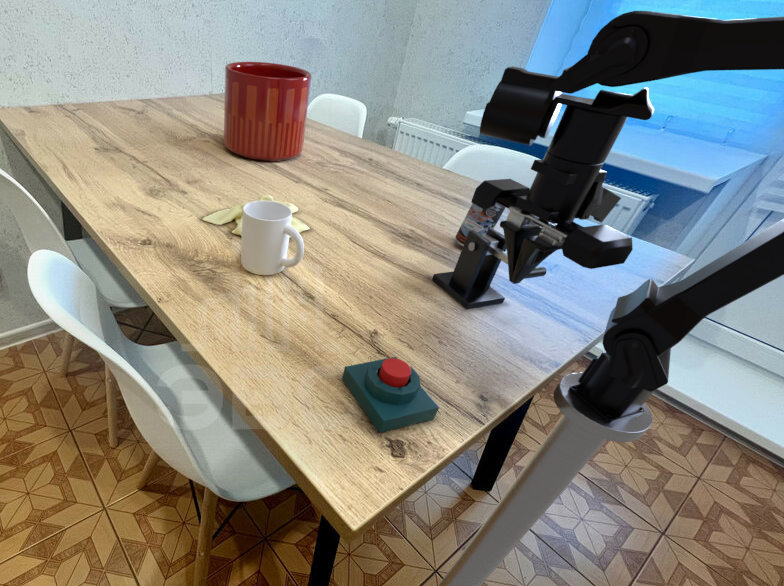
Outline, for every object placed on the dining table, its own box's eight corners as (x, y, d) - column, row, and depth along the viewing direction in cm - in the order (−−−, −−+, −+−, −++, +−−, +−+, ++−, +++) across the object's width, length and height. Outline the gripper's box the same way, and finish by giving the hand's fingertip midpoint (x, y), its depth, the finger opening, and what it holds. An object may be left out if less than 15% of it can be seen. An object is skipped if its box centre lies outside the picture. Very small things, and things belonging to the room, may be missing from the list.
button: (413, 384, 57) (417, 374, 56) (388, 390, 56) (392, 379, 55) (397, 366, 60) (401, 356, 59) (373, 371, 59) (376, 360, 57)
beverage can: (447, 241, 98) (467, 184, 91) (473, 238, 101) (495, 182, 93) (467, 255, 94) (490, 197, 86) (493, 251, 97) (518, 194, 89)
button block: (433, 419, 58) (444, 396, 56) (379, 433, 56) (387, 410, 53) (392, 368, 65) (399, 346, 62) (341, 378, 62) (347, 356, 60)
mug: (311, 272, 84) (320, 217, 77) (285, 289, 78) (292, 232, 72) (258, 249, 88) (262, 196, 82) (231, 265, 83) (232, 209, 76)
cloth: (289, 201, 108) (292, 174, 104) (324, 237, 95) (329, 208, 91) (195, 208, 100) (194, 179, 96) (219, 247, 88) (219, 216, 84)
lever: (542, 280, 71) (549, 266, 70) (517, 284, 70) (524, 270, 68) (489, 246, 80) (494, 233, 78) (465, 249, 78) (470, 236, 77)
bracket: (502, 303, 81) (530, 246, 74) (466, 309, 78) (491, 251, 71) (466, 274, 88) (488, 220, 81) (431, 279, 85) (451, 223, 78)
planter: (209, 152, 130) (209, 67, 117) (244, 134, 147) (247, 58, 133) (285, 169, 125) (293, 82, 111) (312, 148, 141) (322, 71, 128)
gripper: (708, 182, 46) (619, 312, 56) (559, 130, 59) (509, 243, 69) (634, 189, 43) (553, 327, 53) (492, 132, 55) (449, 251, 65)
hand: (514, 282), depth 60 cm, fingers closed
